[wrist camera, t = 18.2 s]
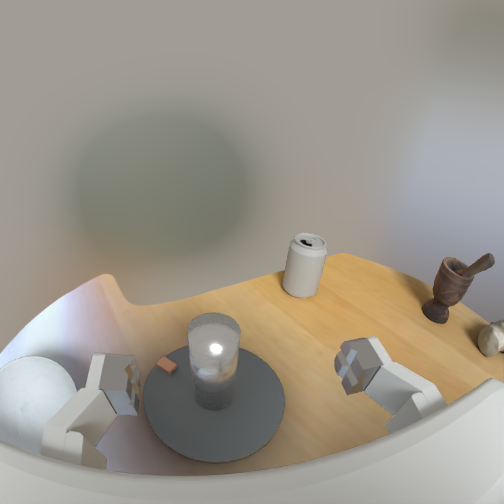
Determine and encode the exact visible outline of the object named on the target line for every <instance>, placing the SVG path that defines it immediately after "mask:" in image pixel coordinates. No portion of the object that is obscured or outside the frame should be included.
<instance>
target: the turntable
mask: <svg viewBox="0 0 504 504" xmlns="http://www.w3.org/2000/svg"><path fill="white" fill-rule="evenodd" d="M143 404H144V410H145V413H146V416H147V418H148V420H149V422H150V424H151V426H152V428H153V430H154V432H155V433H156V434H157V436H158V437H159V438H160V439H161V440H162V441H163V442H164V443H165V444H166V445H167V446H168V447H169V448H171V449H172V450H174V451H175V452H177V453H179V454H181V455H183V456H185V457H187V458H190V459H193V460H197V461H201V462H208V463H224V462H232V461H236V460H240V459H242V458H245V457H247V456H250V455H252V454H253V453H255V452H257V451H258V450H260V449H261V448H262V447H264V446H265V445H266V444H267V443H268V442H269V441H270V440H271V438H272V437H273V435H274V434H275V432H276V430H277V428H278V426H279V424H280V422H281V420H282V417H283V413H284V407H285V396H284V391H283V388H282V385H281V382H280V380H279V378H278V377H277V375H276V374H275V372H274V371H273V370H272V368H271V367H270V366H269V365H268V364H267V363H266V362H264V361H263V360H262V359H261V358H259V357H258V356H256V355H254V354H253V353H251V352H249V351H247V350H244V349H242V348H239V351H238V360H237V369H236V378H235V387H234V396H233V400H232V402H231V404H230V405H229V406H228V407H226V408H224V409H222V410H218V411H211V410H207V409H204V408H202V407H201V406H199V405H198V404H197V402H196V401H195V398H194V393H193V384H192V375H191V365H190V355H189V346H186V347H183V348H180V349H178V350H176V351H174V352H172V353H170V354H169V355H167V356H165V357H164V356H163V357H162V358H161V359H160V360H159V361H158V362H157V363H156V365H155V366H154V368H153V369H152V371H151V372H150V374H149V376H148V377H147V380H146V382H145V385H144V391H143Z"/></svg>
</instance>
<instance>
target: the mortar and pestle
mask: <svg viewBox="0 0 504 504" xmlns="http://www.w3.org/2000/svg"><path fill="white" fill-rule="evenodd" d="M494 263H495V260H494V257H493V255H492V254H489V253H488V254H486V255H484V256H482V257H481V258H480V259H478V260H477V261H476V262H475V263H473V264H472V265H471V266H469V267H468V266H467V265H465V264H464V263H462V262H460V261H459V260H457V259H456V258H451V257H446V258H445V259H443V262H442V264H441V266H440V269H439V271H438V273H437V275H436V278H435V281H434V286H433V295H434V299H432V300H429V301H427V302H426V304H425V305H424V306H423V312H424V314H425V315H426V316H427V317H428V318H429V319H430V320H432V321H434V322H437V323H446V322H447V320H448V317H449V310H448V307H449V306H454V305H455V304H457V303H458V302H459V301H460V300H461V298H462V297H463V296H464V294H465V293H466V291H467V289H468V287H469V285H470V284H471V282H472V281H473V279H474V275H475V274H477V273H479V272H481V271H484V270H487V269H488V268H490V267H492V266H493V265H494Z"/></svg>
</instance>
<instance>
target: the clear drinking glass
mask: <svg viewBox="0 0 504 504" xmlns="http://www.w3.org/2000/svg"><path fill="white" fill-rule="evenodd" d="M239 342H240V327H239V325H238V324H237V322H236V321H235V320H234V319H232V318H231V317H229V316H227V315H224V314H220V313H206V314H202V315H199V316H197V317H196V318H194V319H193V320H192V321H191V322H190V324H189V326H188V343H189V355H190V365H191V375H192V384H193V393H194V398H195V401H196V402H197V404H198V405H199V406H201V407H202V408H204V409H207V410H211V411H218V410H222V409H224V408H226V407H228V406H229V405H230V404H231V402H232V400H233V396H234V387H235V378H236V369H237V360H238V351H239Z"/></svg>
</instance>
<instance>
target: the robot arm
mask: <svg viewBox="0 0 504 504" xmlns="http://www.w3.org/2000/svg"><path fill="white" fill-rule="evenodd" d="M340 348H341V351H340V352H339V353H338V354H337V355H336V357H335V360H334V366H335V370H336V373H337V375H338V376H340V377H341V378H343V379H342V385H343V387H344V390H345V392H346V394H347V395H350V394H354V393H358V392H362V391H364V393H365V394H367V395H368V396H369V397H370V398H372V399H373V400H374V401H375V402H377V403H378V404H379V405H380V406H382V407H383V408H384V409H385V410H387V411H388V412H389V413H390V414H392V415H393V416H392V417H391V418H390V419H389V420H388V421H387V423H386V426H387V428H388V430H389V432H390V434H388V435H386V436H383V437H381V438H378V439H376V440H373V441H371V442H368V443H365V444H363V445H360V446H357V447H354V448H351V449H348V450H345V451H342V452H338V453H335V454H332V455H328V456H325V457H321V458H317V459H313V460H309V461H305V462H301V463H296V464H292V465H287V466H282V467H276V468H271V469H264V470H258V471H251V472H242V473H233V474H221V475H204V476H162V475H145V474H133V473H124V472H116V471H109V470H106V458H105V456H104V455H103V454H102V453H100V452H99V451H98V450H97V449H96V448H95V446H96V445H97V443H98V442H99V441H100V439H101V438H102V436H103V435H104V434H105V432H106V431H107V429H108V428H109V427H110V425H111V424H112V422H113V421H114V420H115V418H116V417H117V414H119V415H138V408H139V400H138V397H137V395H136V394H137V393H138V392H139V391H140V377H139V372H138V368H136V367H135V360H134V357H133V356H132V355H119V354H107V353H94V354H93V356H92V360H91V364H90V368H89V372H88V377H87V381H86V386H85V388H81V389H80V390H79V391H78V392H77V393H76V394H75V395H74V396H73V397H72V398H71V399H70V400H69V401H68V402H67V403H66V404H65V405H64V406H63V407H62V408H61V409H60V410H59V411H58V412H57V413H56V414H55V415H54V416H53V417H52V418H51V419H50V420H49V421H48V422H47V423H46V424H45V429H44V434H43V440H42V446H41V452H40V454H36V453H33V452H30V451H28V450H25V449H22V448H19V447H17V446H14V445H11V444H9V443H6V442H4V441H2V440H0V504H504V382H502V381H499V380H497V379H494V378H489V379H487V380H486V381H484V382H483V383H481V384H480V385H479V386H477V387H476V388H474V389H473V390H471V391H470V392H468V393H467V394H465V395H463V396H462V397H460V398H459V399H457V400H455V401H454V402H452V403H450V404H449V405H447V404H446V402H445V400H444V399H443V397H442V396H441V394H440V392H439V391H438V389H437V388H436V386H435V385H434V384H433V383H431V382H429V381H428V380H426V379H424V378H422V377H421V376H419V375H417V374H416V373H414V372H412V371H410V370H409V369H407V368H405V367H404V366H402V365H400V364H399V363H397V362H393V361H392V360H391V358H390V357H389V355H388V353H387V352H386V350H385V349H384V347H383V346H382V344H381V343H380V341H379V340H378V338H377V337H375V336H370V337H366V338H359V339H354V340H349V341H344V342H343V343H342V344H341V346H340Z"/></svg>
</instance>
